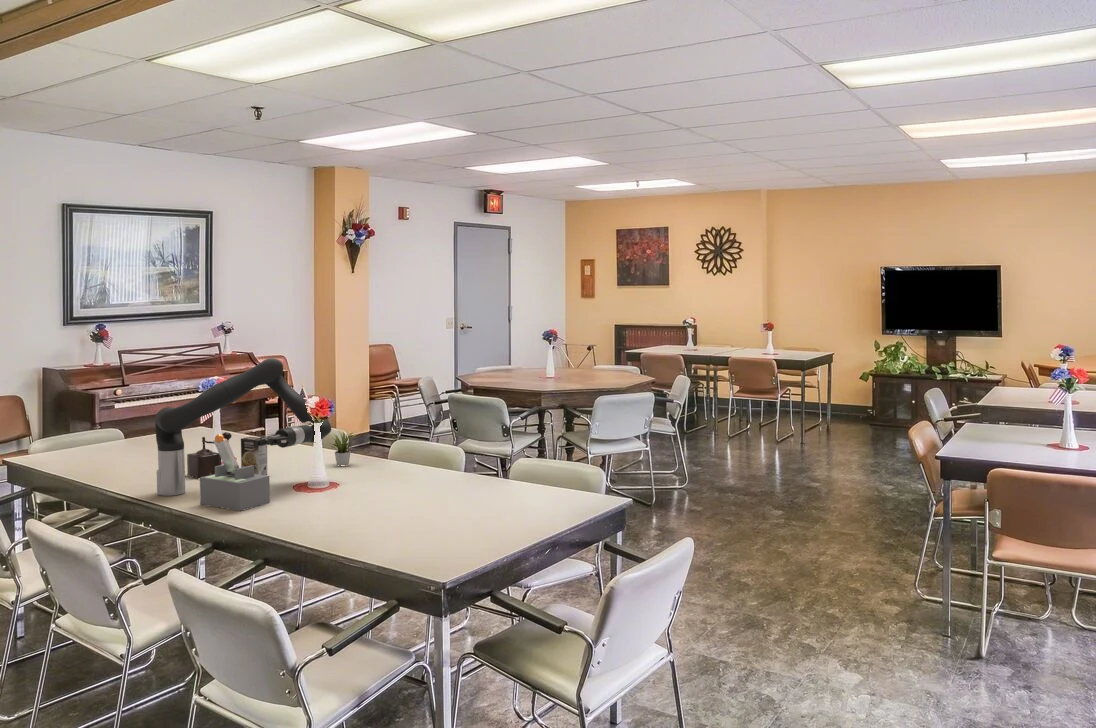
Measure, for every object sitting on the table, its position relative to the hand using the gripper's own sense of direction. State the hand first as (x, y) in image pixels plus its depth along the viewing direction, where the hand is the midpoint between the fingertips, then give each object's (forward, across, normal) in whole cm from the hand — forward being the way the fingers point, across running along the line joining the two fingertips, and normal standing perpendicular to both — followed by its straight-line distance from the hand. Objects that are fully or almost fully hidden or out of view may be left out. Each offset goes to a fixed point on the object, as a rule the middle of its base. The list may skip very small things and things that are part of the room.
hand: (256, 443), depth 305 cm
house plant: (-63, -11, +21) cm, 67 cm away
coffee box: (-28, -31, +21) cm, 46 cm away
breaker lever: (+10, 0, +10) cm, 14 cm away
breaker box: (+11, 0, +21) cm, 23 cm away
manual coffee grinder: (-20, -49, +21) cm, 57 cm away
